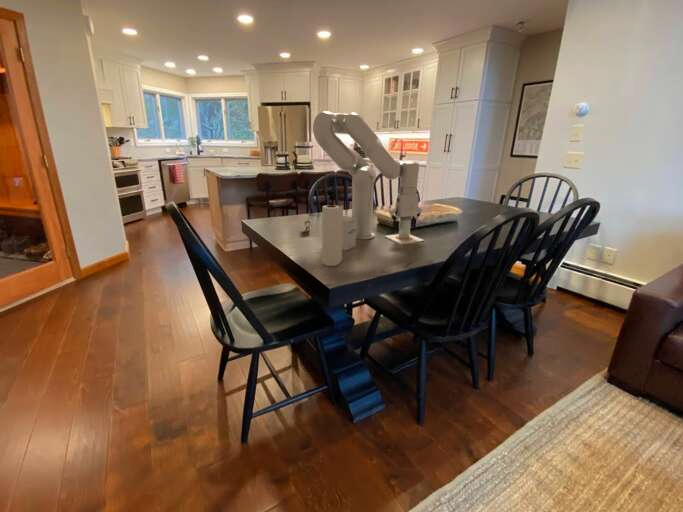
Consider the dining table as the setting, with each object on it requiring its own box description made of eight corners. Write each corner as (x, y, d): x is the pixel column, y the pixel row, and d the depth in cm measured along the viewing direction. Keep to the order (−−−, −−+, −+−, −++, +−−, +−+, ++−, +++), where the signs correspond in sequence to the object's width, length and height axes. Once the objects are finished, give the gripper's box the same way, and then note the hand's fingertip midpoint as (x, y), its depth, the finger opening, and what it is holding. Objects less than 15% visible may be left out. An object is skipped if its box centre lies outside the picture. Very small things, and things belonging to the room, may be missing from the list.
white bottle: (347, 251, 135) (348, 221, 131) (332, 247, 139) (332, 218, 135) (356, 246, 141) (357, 217, 137) (341, 243, 145) (342, 215, 141)
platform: (318, 228, 171) (318, 215, 169) (321, 237, 154) (321, 224, 152) (295, 228, 170) (295, 215, 167) (295, 238, 153) (295, 224, 151)
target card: (400, 244, 145) (400, 243, 145) (384, 237, 156) (384, 235, 156) (424, 241, 150) (424, 239, 150) (406, 234, 161) (406, 232, 161)
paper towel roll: (322, 266, 118) (322, 207, 111) (322, 260, 124) (322, 204, 117) (342, 266, 118) (343, 207, 111) (342, 260, 124) (343, 204, 117)
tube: (402, 239, 150) (404, 218, 146) (396, 236, 154) (397, 215, 151) (411, 238, 152) (413, 217, 148) (405, 235, 156) (406, 215, 153)
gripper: (396, 192, 139) (393, 232, 145) (428, 191, 146) (424, 228, 152) (386, 190, 145) (384, 227, 151) (418, 188, 153) (414, 224, 158)
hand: (404, 228), depth 151 cm, fingers open, 9 cm apart
